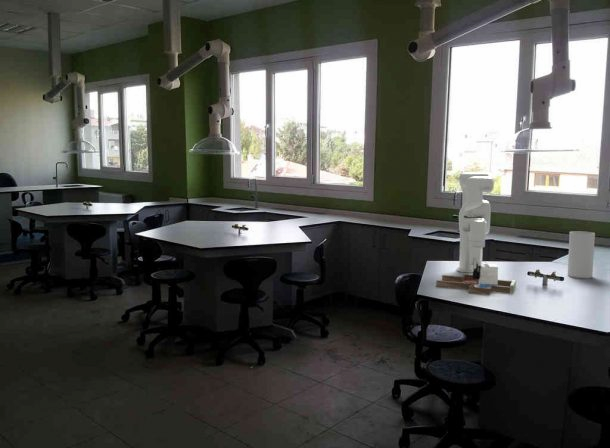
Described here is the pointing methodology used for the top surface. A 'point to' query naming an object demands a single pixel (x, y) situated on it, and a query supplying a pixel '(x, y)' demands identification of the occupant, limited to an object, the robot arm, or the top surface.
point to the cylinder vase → (581, 254)
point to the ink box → (488, 275)
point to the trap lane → (458, 281)
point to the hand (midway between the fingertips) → (476, 278)
